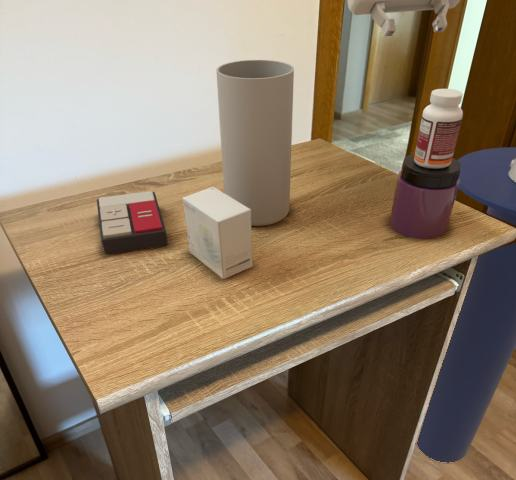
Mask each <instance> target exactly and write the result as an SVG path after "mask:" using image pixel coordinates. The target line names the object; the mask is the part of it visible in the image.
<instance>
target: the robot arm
mask: <svg viewBox="0 0 516 480" xmlns="http://www.w3.org/2000/svg"><path fill="white" fill-rule="evenodd" d="M346 1H347V7H348V10H349V12H351V13H352V14H353V15H354V16H362V15H371V18H372V20H373V21H374V23H375V24H376V25H377V26H378V27H379V28H380V30H381V34H382V36H383V37H392V36H393V35H394V33H396V29H397V27H396V25H395V19H393V18H391V19H390V18H389V17H388V15H387V14H392V13H404V12H405V13H407V12H418V11H419V12H420V11H434V14H435V15H437V16H436V17H435V19H434V20H433V22H432V23H431V25H432V28H433V32H434V33H443V32H444V31H445V30H446V29H447V27H448V21H447V13H448V10H451V9H454V8H455V7H456V6H457V5H458V4H459V3H460V2H461V0H346ZM510 167H511V169H510V171H509V173H508V175H509V177H510V178H511V179H512V180H513V181H514V182H516V158H515V159H514V160H512V161H511V164H510Z"/></svg>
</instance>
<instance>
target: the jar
mask: <svg viewBox="0 0 516 480" xmlns="http://www.w3.org/2000/svg"><path fill="white" fill-rule="evenodd" d="M459 183H460V180H459V178H458V180H457V182H456V183H455V184H454V185H452V186H449V187H444V188H426V187H420V186H416V185H413V184H410V183H408V182H407V181H405V180H404V179H403V178H402V177H401V170H400V171H399V173H398V174H397V177H396V183H395V189H394V195H393V201H392V206H391V210H390V215H389V216H390V217H389V226H390V227H391V229H392V230H393V231H395V232H396V233H398V234H400V235H402V236H405V237H408V238H413V239H418V240H419V239H421V240H422V239H423V240H427V239H435V238H438V237H441V236H443V235H444V234H445V233H447V230H448V226H449V223H450V219H451V216H452V212H453V208H454V205H455V201H456V198H457V193H458V190H459V188H458V187H459Z"/></svg>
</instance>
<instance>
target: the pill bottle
mask: <svg viewBox="0 0 516 480" xmlns="http://www.w3.org/2000/svg"><path fill="white" fill-rule="evenodd" d="M463 94H464V93H463V92H462V91H461V90H459V89H458V90H457V89H453V88H436V89H434V90H431V93H430V96H429V97H430V98H429V102H430V104H429V105H427V106H425V108H424V109H423V110H422V114H421V120H420V125H419V129H418V135H417V141H416V146H415V150H414V154H415V155H414V161H415V163H416V164H417V165H419V166H421V167H425V168H431V169H441V168H445V167H448V166H449V165H450V164H451V161H452V158H454V154H455V149H456V145H457V141H458V137H459V133H460V129H461V124H462V120H463V116H464V111H463V109H462V108H461V107H460V106H459V105H460V104H461V103H462V100H463V96H464V95H463Z"/></svg>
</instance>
